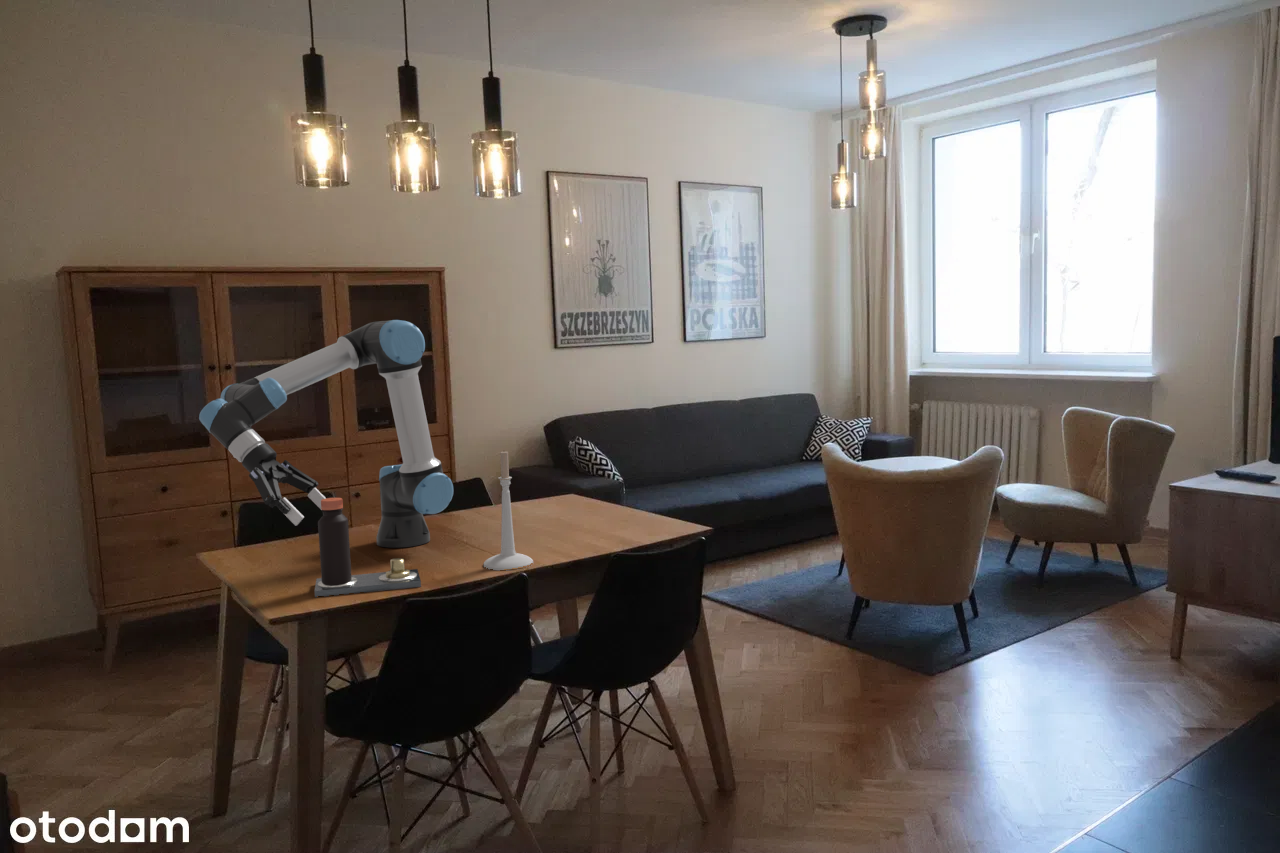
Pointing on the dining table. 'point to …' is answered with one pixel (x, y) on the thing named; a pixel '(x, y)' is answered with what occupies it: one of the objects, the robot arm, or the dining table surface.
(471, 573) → the dining table surface
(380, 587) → the plate
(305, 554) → the dining table surface
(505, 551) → the candlestick
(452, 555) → the dining table surface
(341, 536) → the vinegar
